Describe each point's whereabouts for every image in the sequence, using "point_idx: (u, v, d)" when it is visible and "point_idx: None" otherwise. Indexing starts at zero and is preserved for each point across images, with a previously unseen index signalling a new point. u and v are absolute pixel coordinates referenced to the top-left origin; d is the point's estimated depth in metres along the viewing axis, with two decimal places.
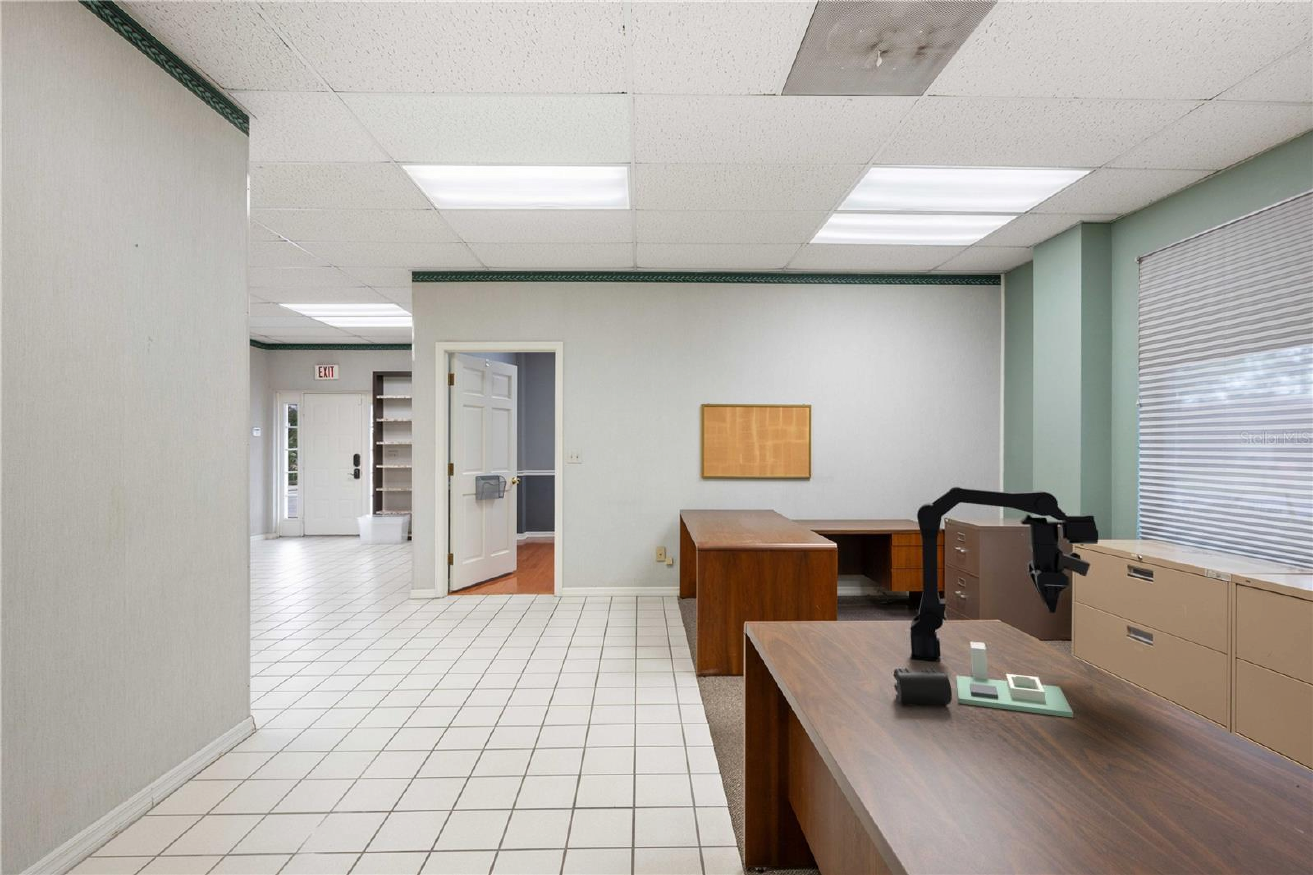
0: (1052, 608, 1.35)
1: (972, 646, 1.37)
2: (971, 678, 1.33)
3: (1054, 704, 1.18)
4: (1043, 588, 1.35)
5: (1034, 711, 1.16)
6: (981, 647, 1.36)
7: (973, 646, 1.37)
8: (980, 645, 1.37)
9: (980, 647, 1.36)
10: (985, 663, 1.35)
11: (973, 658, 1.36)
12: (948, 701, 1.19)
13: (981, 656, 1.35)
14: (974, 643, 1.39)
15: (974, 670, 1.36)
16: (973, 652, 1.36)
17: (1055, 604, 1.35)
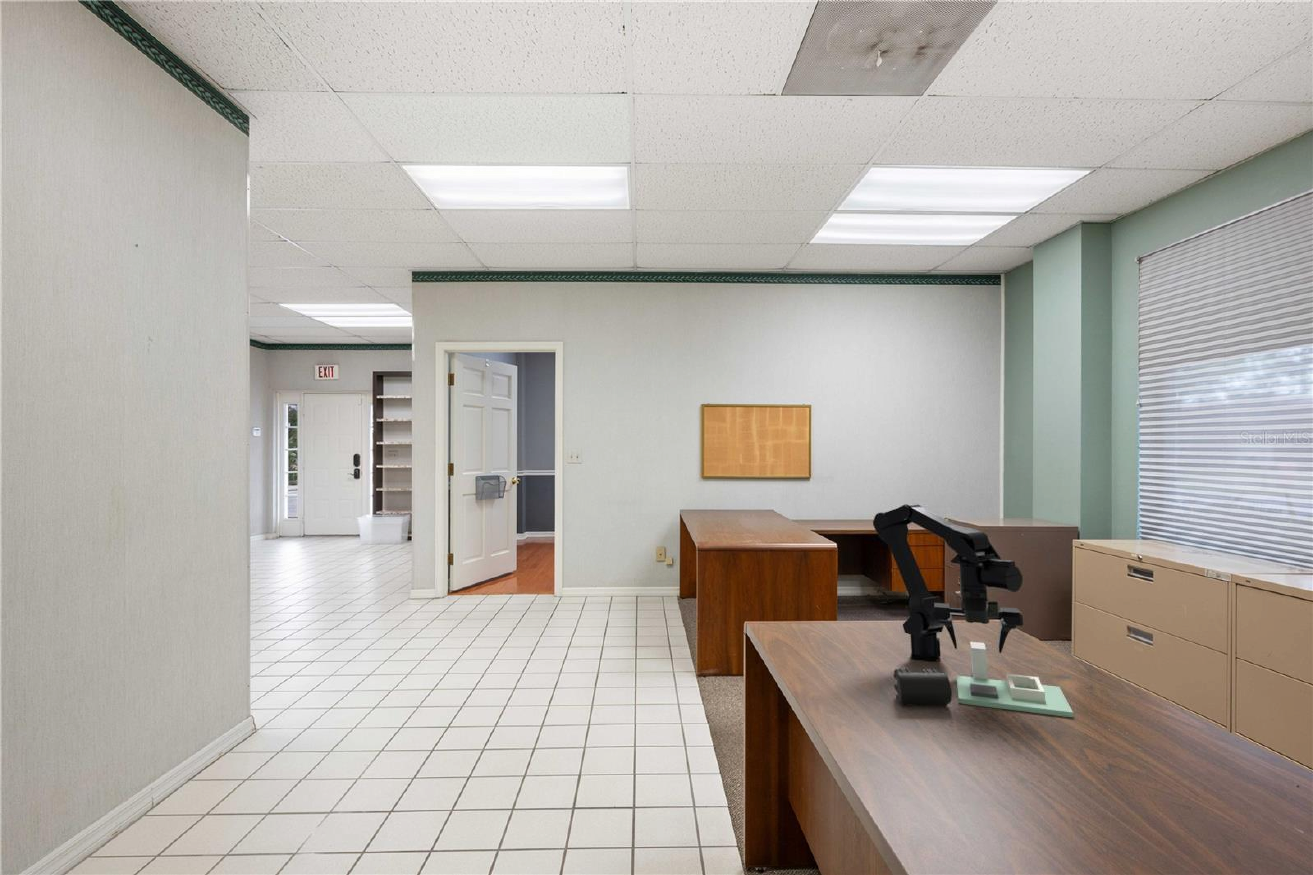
0: None
1: (972, 646, 1.37)
2: (971, 678, 1.33)
3: (1054, 704, 1.18)
4: None
5: (1034, 711, 1.16)
6: (981, 647, 1.36)
7: (973, 646, 1.37)
8: (980, 645, 1.37)
9: (980, 647, 1.36)
10: (985, 663, 1.35)
11: (973, 658, 1.36)
12: (948, 701, 1.19)
13: (981, 656, 1.35)
14: (974, 643, 1.39)
15: (974, 670, 1.36)
16: (973, 652, 1.36)
17: (952, 640, 1.39)
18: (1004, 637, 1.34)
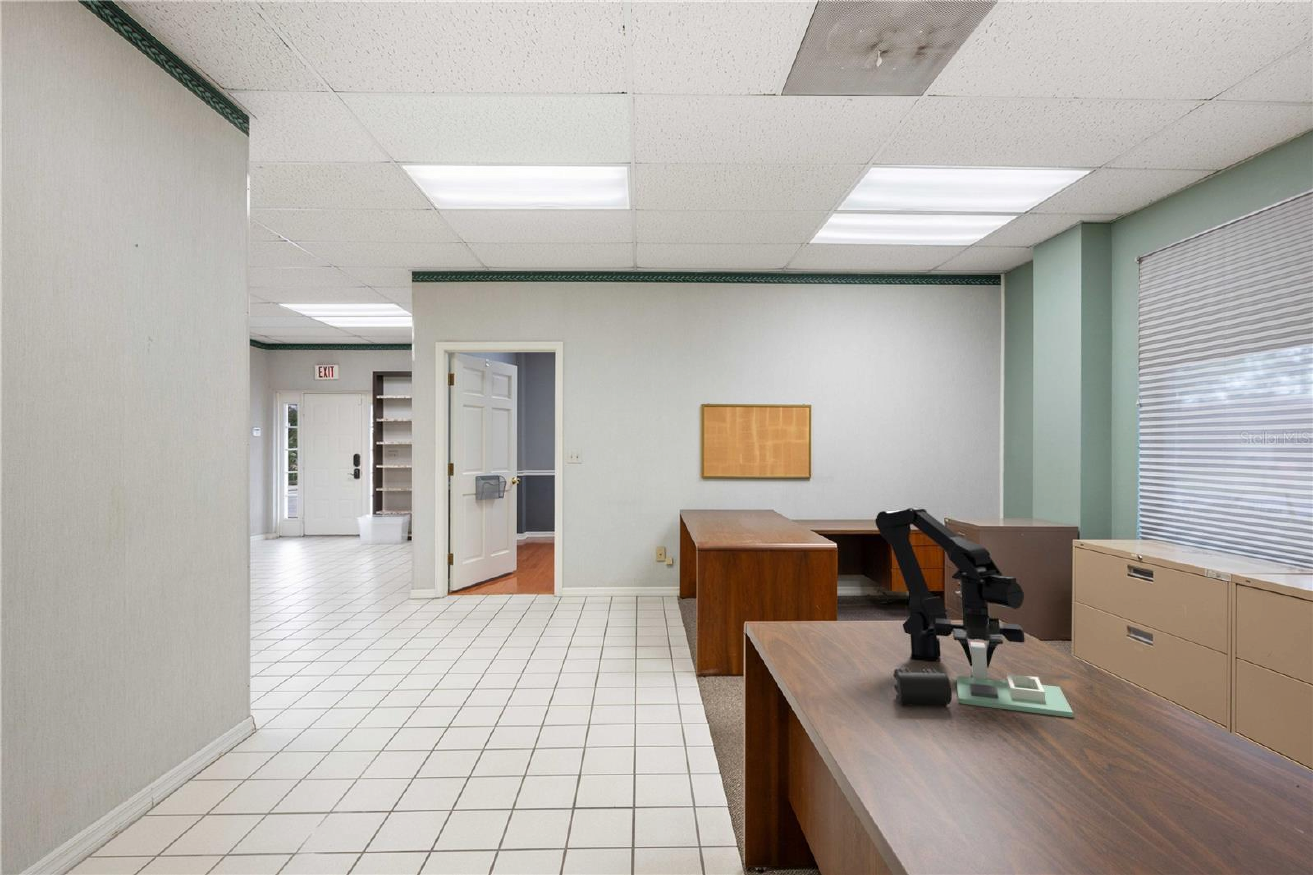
0: (969, 660, 1.38)
1: (972, 646, 1.37)
2: (971, 678, 1.33)
3: (1054, 704, 1.18)
4: None
5: (1034, 711, 1.16)
6: (981, 647, 1.36)
7: (973, 646, 1.37)
8: (980, 645, 1.37)
9: (980, 647, 1.36)
10: (985, 663, 1.35)
11: (973, 658, 1.36)
12: (948, 701, 1.19)
13: (981, 656, 1.35)
14: (974, 643, 1.39)
15: (974, 670, 1.36)
16: (973, 652, 1.36)
17: (968, 657, 1.38)
18: (991, 652, 1.35)
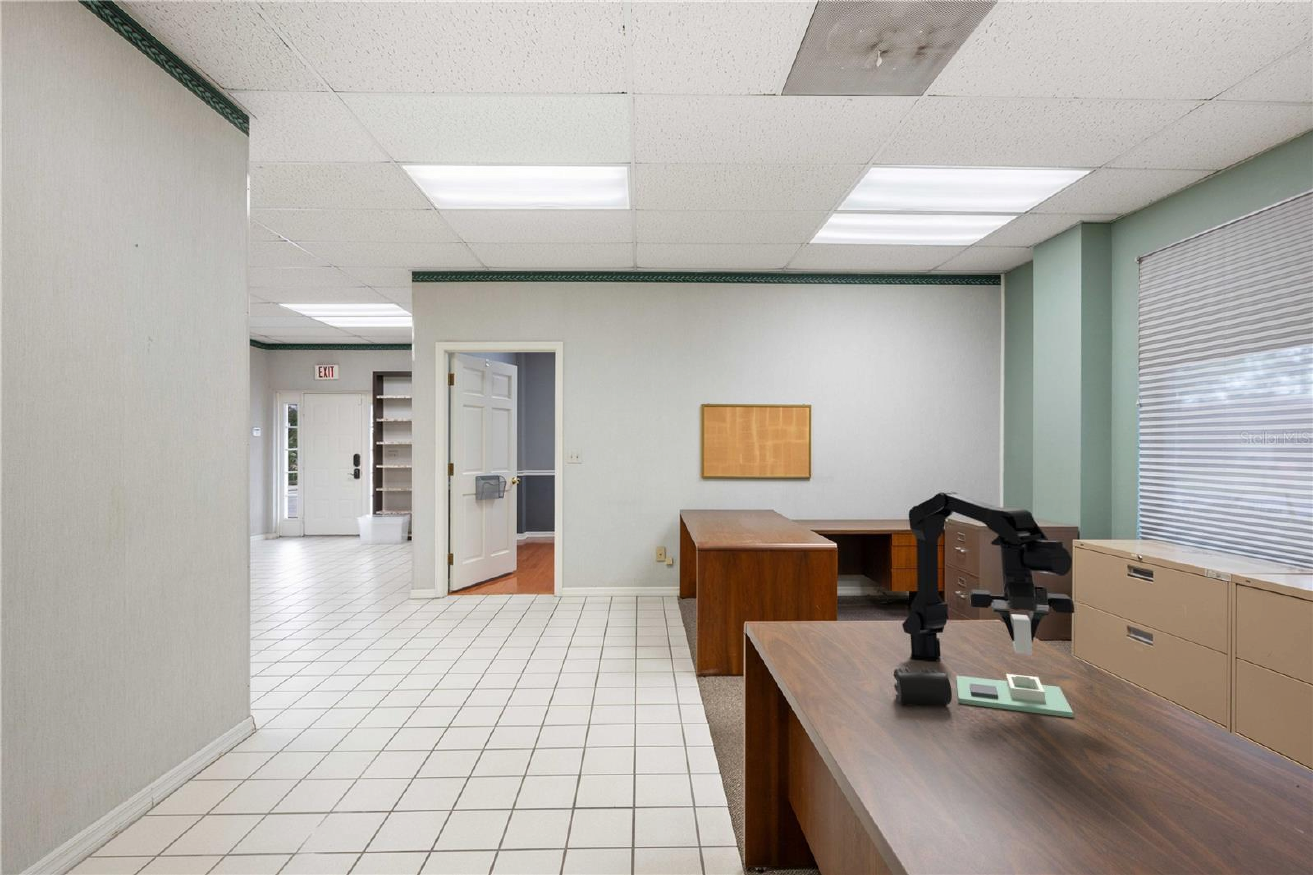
0: None
1: (1014, 618, 1.24)
2: (971, 678, 1.33)
3: (1054, 704, 1.18)
4: None
5: (1034, 711, 1.16)
6: (1024, 619, 1.23)
7: (1015, 618, 1.24)
8: (1023, 617, 1.25)
9: (1023, 619, 1.23)
10: (1029, 636, 1.22)
11: (1016, 631, 1.23)
12: (948, 701, 1.19)
13: (1025, 628, 1.22)
14: (1016, 615, 1.27)
15: (1017, 644, 1.23)
16: (1016, 625, 1.23)
17: (1009, 631, 1.25)
18: (1036, 625, 1.22)
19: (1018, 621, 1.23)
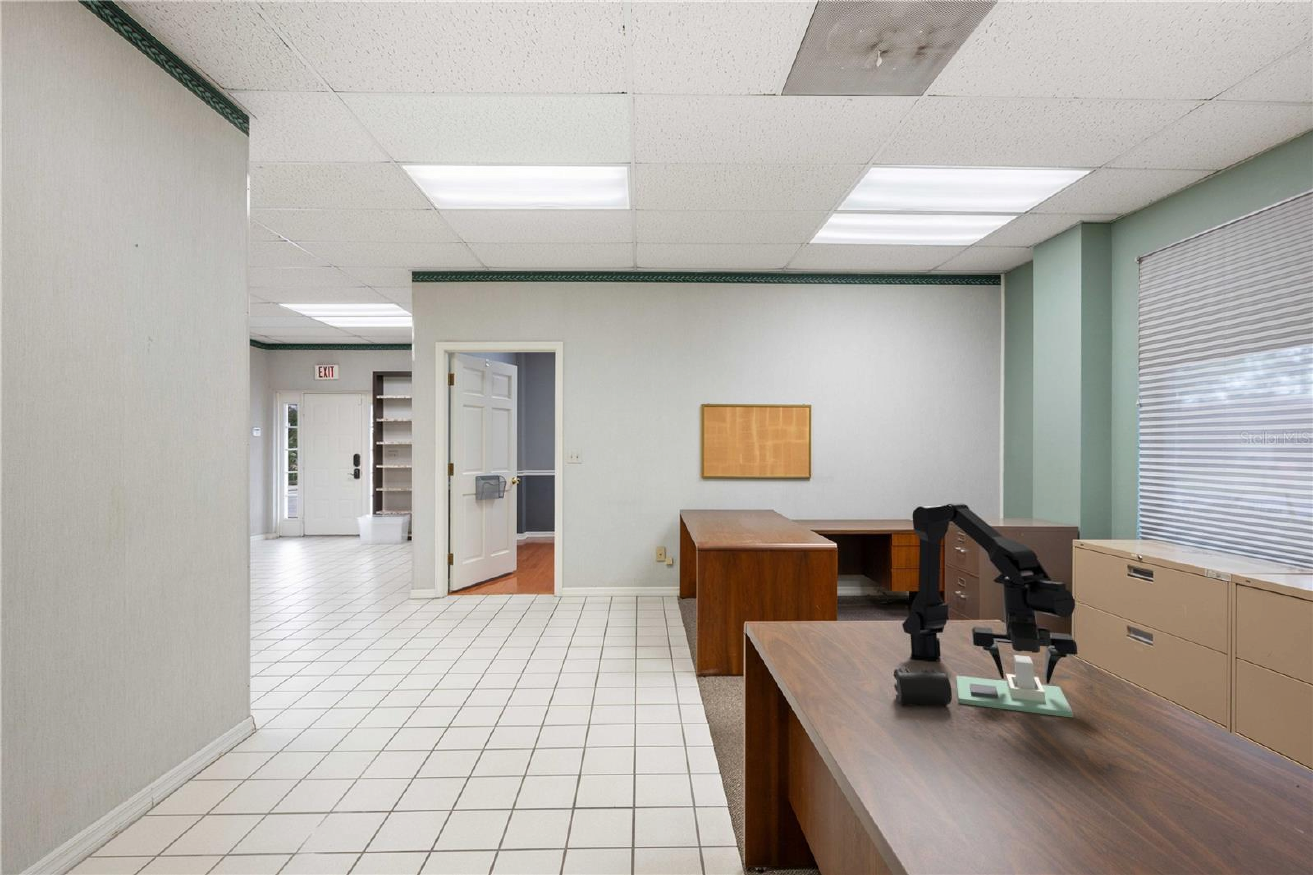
0: (1000, 672, 1.26)
1: (1017, 660, 1.24)
2: (971, 678, 1.33)
3: (1054, 704, 1.18)
4: None
5: (1034, 711, 1.16)
6: (1027, 662, 1.23)
7: (1018, 660, 1.24)
8: (1026, 659, 1.24)
9: (1026, 661, 1.23)
10: (1032, 679, 1.21)
11: (1019, 674, 1.22)
12: (948, 701, 1.19)
13: (1028, 671, 1.22)
14: (1019, 656, 1.26)
15: (1020, 687, 1.22)
16: (1019, 667, 1.22)
17: (998, 669, 1.26)
18: (1052, 666, 1.21)
19: (1021, 663, 1.22)
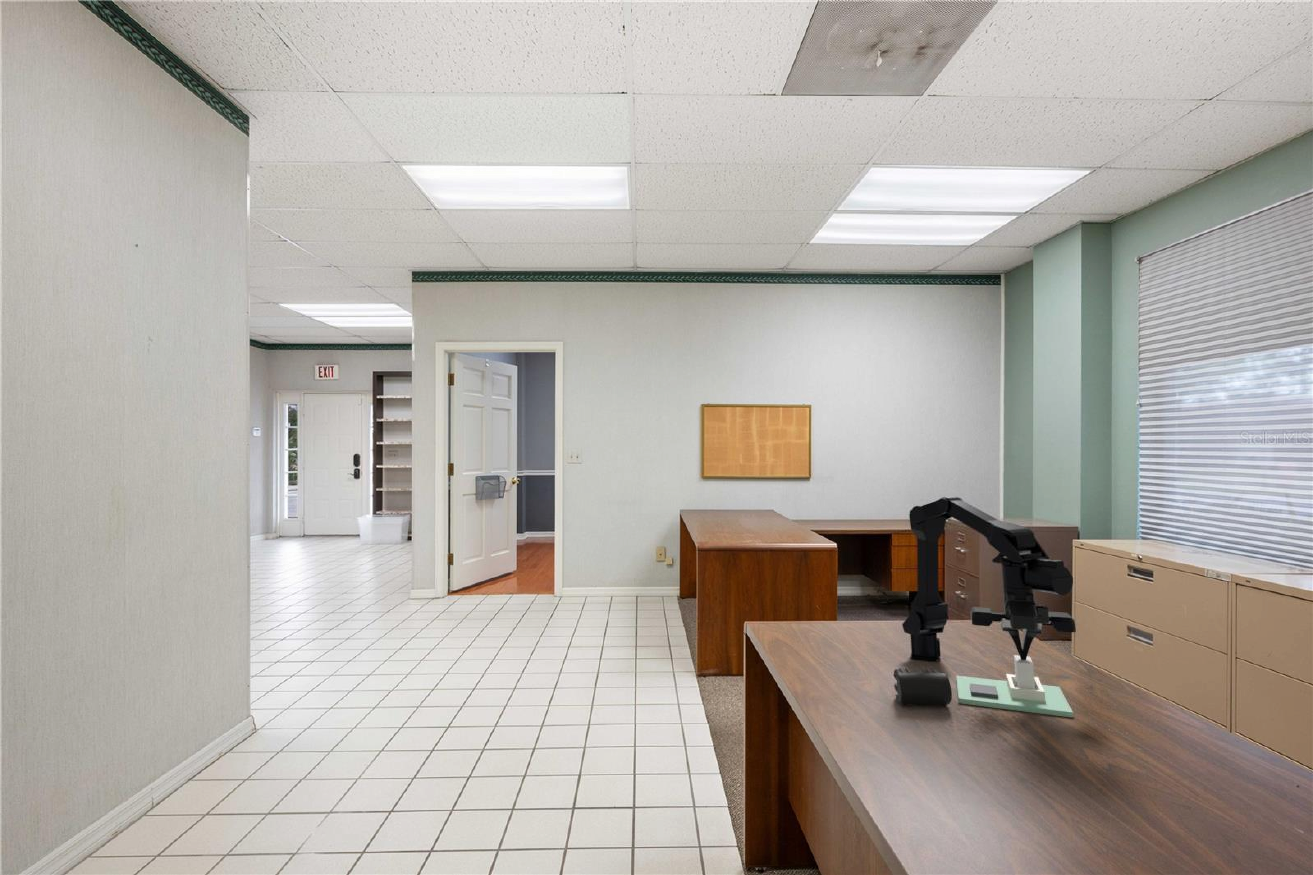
0: None
1: (1017, 660, 1.24)
2: (971, 678, 1.33)
3: (1054, 704, 1.18)
4: None
5: (1034, 711, 1.16)
6: (1027, 662, 1.23)
7: (1018, 660, 1.24)
8: (1026, 659, 1.24)
9: (1026, 661, 1.23)
10: (1032, 679, 1.21)
11: (1019, 674, 1.22)
12: (948, 701, 1.19)
13: (1028, 671, 1.22)
14: (1019, 656, 1.26)
15: (1020, 687, 1.22)
16: (1019, 667, 1.22)
17: (1018, 650, 1.24)
18: (1029, 643, 1.23)
19: (1021, 664, 1.22)
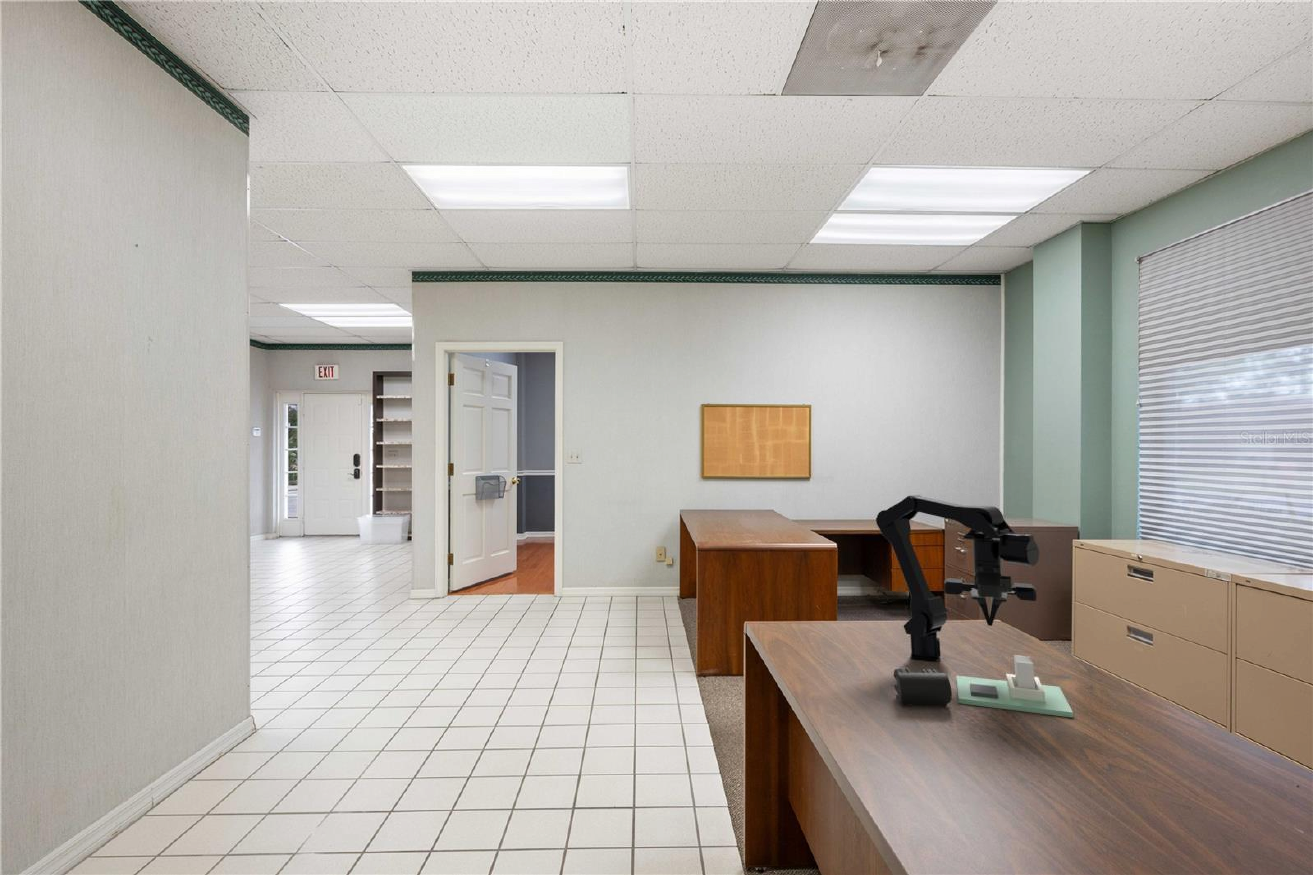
0: None
1: (1017, 660, 1.24)
2: (971, 678, 1.33)
3: (1054, 704, 1.18)
4: None
5: (1034, 711, 1.16)
6: (1027, 662, 1.23)
7: (1018, 660, 1.24)
8: (1026, 659, 1.24)
9: (1026, 661, 1.23)
10: (1032, 679, 1.21)
11: (1019, 674, 1.22)
12: (948, 701, 1.19)
13: (1028, 671, 1.22)
14: (1019, 656, 1.26)
15: (1020, 687, 1.22)
16: (1019, 667, 1.22)
17: (985, 617, 1.38)
18: (995, 610, 1.36)
19: (1021, 663, 1.22)
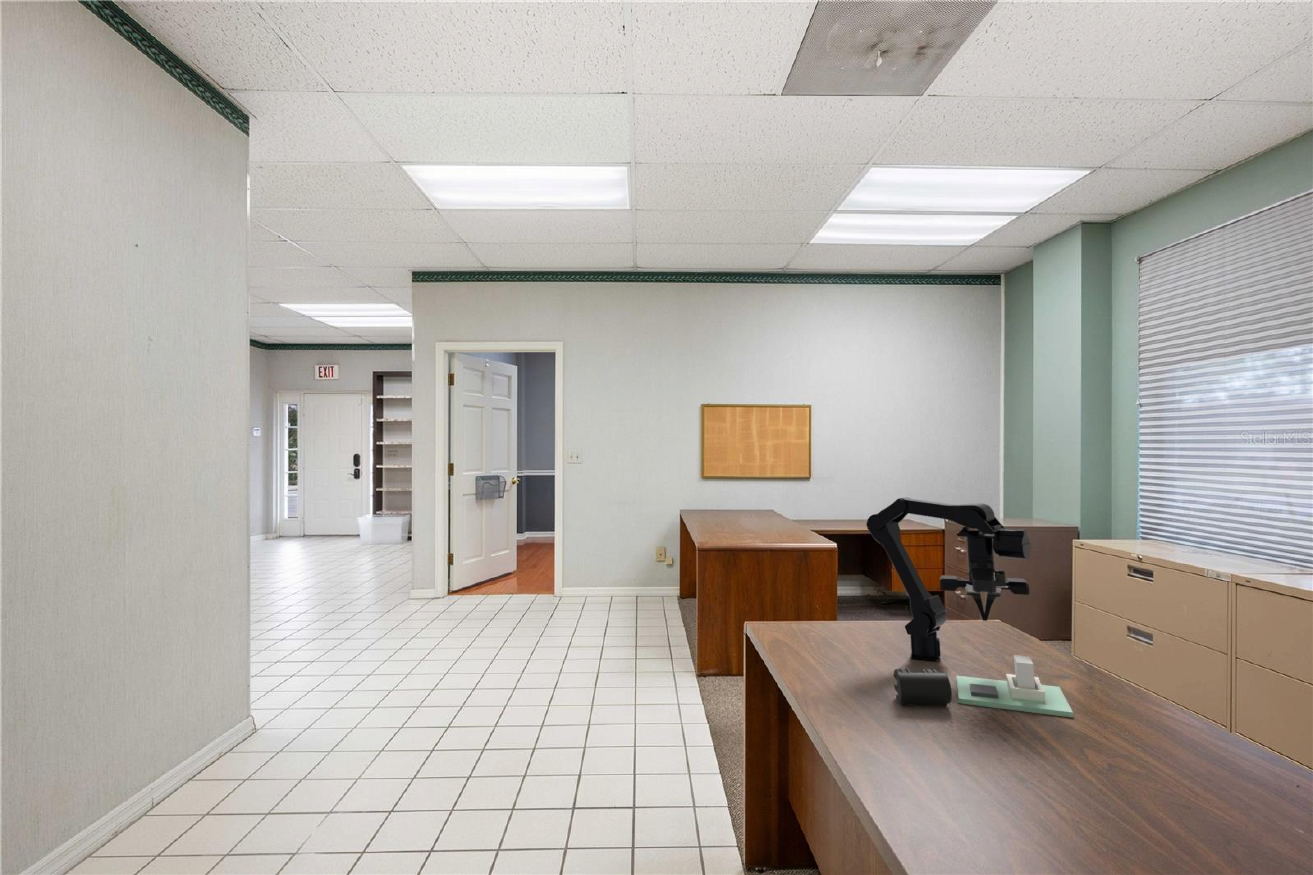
0: (982, 615, 1.41)
1: (1017, 660, 1.24)
2: (971, 678, 1.33)
3: (1054, 704, 1.18)
4: None
5: (1034, 711, 1.16)
6: (1027, 662, 1.23)
7: (1018, 660, 1.24)
8: (1026, 659, 1.24)
9: (1026, 661, 1.23)
10: (1032, 679, 1.21)
11: (1019, 674, 1.22)
12: (948, 701, 1.19)
13: (1028, 671, 1.22)
14: (1019, 656, 1.26)
15: (1020, 687, 1.22)
16: (1019, 667, 1.22)
17: (980, 612, 1.40)
18: (989, 605, 1.39)
19: (1021, 663, 1.22)
